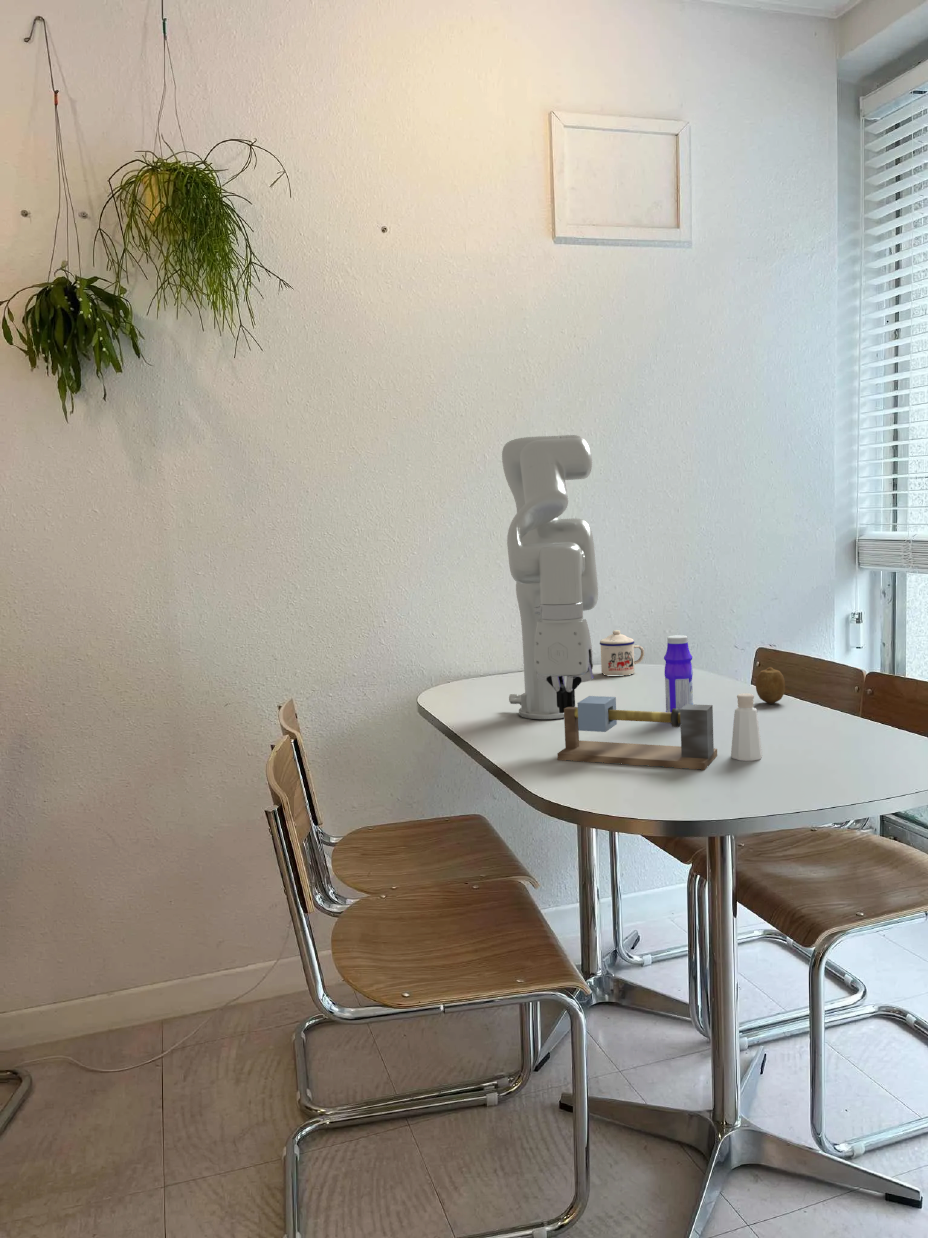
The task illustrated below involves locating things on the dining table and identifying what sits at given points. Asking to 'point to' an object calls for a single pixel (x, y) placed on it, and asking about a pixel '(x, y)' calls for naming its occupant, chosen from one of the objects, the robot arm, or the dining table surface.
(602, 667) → the teacup with lid
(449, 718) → the dining table surface
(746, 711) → the pepper shaker
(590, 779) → the dining table surface
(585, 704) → the sleeve
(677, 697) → the bottle
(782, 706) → the dining table surface
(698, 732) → the rod stand
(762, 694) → the fruit
